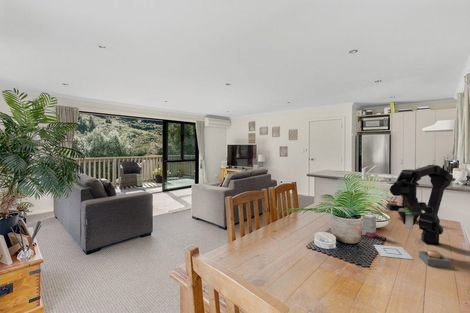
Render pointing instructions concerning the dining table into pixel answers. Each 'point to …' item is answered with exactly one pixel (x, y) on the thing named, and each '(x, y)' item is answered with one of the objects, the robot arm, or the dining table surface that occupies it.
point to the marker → (408, 221)
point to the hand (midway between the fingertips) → (408, 224)
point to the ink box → (369, 225)
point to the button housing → (434, 260)
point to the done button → (433, 254)
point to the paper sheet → (392, 252)
